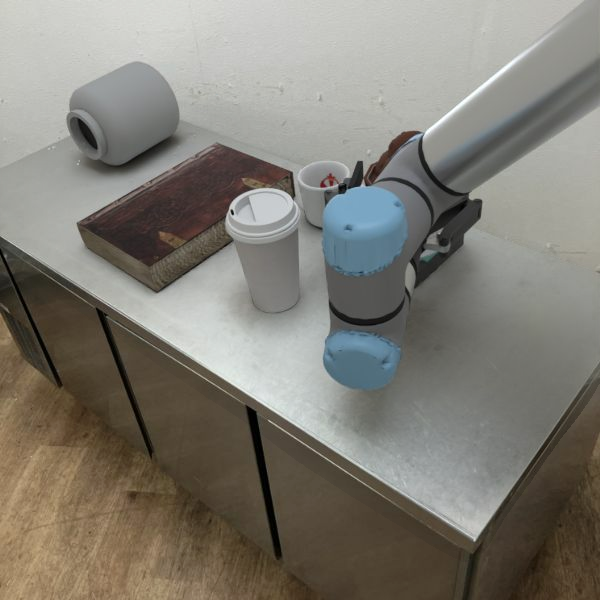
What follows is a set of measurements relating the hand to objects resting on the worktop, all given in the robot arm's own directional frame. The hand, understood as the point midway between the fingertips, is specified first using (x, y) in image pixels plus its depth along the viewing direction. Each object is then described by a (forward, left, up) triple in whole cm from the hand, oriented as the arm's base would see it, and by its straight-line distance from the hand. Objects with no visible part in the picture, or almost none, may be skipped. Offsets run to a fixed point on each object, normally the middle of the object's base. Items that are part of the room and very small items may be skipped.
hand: (409, 171), depth 89 cm
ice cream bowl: (-3, +2, -8) cm, 9 cm away
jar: (+41, +40, -11) cm, 58 cm away
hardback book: (+17, +30, -11) cm, 36 cm away
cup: (+8, +9, -11) cm, 16 cm away
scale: (-3, +2, -11) cm, 11 cm away
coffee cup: (-6, +22, -11) cm, 25 cm away
